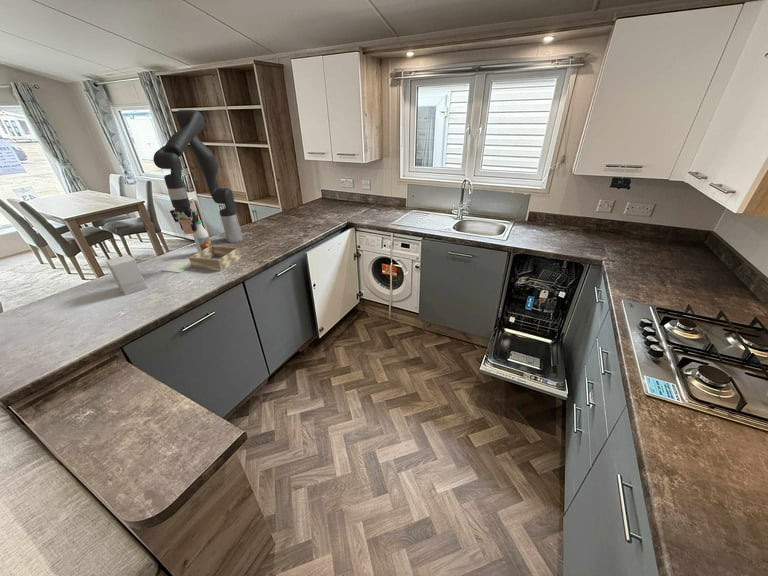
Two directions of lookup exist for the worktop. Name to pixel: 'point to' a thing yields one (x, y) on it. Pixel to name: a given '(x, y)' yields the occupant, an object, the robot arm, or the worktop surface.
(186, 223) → the terracotta pot
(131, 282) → the supplement box
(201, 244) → the milk bottle
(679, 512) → the worktop surface
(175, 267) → the sage mat
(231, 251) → the wooden shadow box
